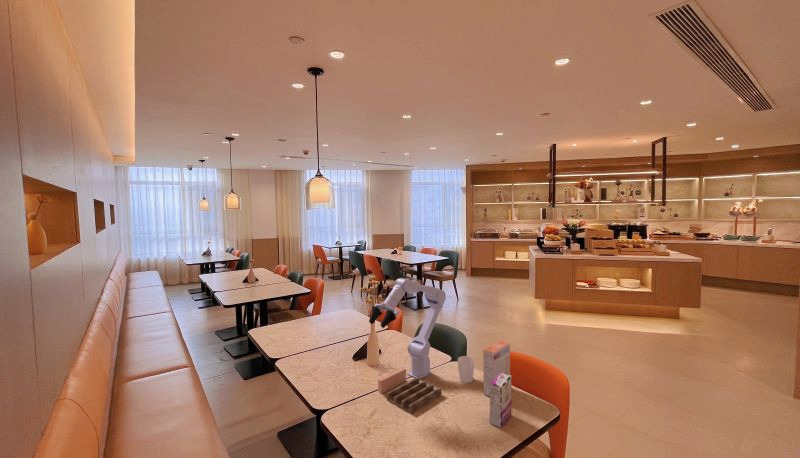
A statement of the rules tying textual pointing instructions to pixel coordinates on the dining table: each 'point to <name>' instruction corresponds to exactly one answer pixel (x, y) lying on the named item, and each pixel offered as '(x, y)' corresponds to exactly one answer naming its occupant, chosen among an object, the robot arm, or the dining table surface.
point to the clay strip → (391, 380)
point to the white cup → (465, 369)
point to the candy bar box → (500, 400)
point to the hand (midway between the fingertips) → (376, 324)
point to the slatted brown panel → (413, 395)
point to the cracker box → (495, 363)
